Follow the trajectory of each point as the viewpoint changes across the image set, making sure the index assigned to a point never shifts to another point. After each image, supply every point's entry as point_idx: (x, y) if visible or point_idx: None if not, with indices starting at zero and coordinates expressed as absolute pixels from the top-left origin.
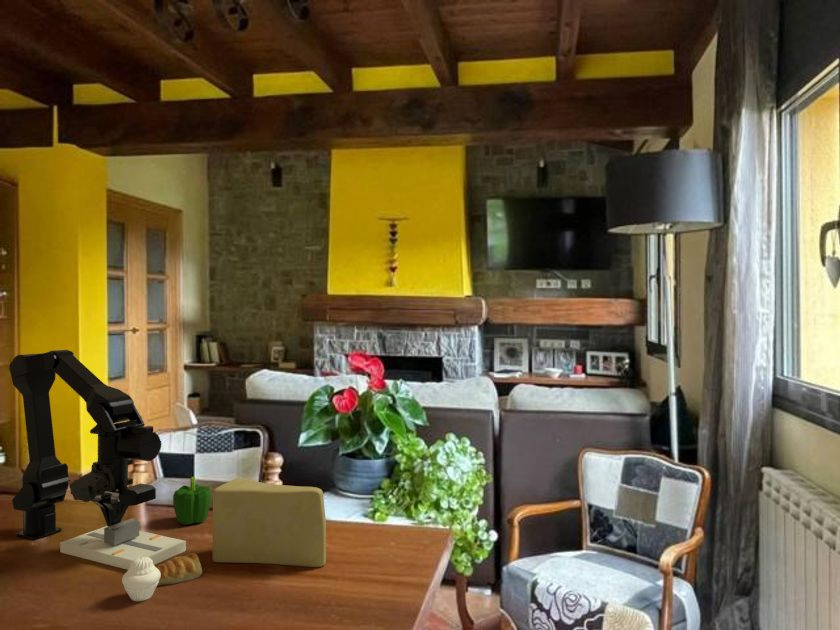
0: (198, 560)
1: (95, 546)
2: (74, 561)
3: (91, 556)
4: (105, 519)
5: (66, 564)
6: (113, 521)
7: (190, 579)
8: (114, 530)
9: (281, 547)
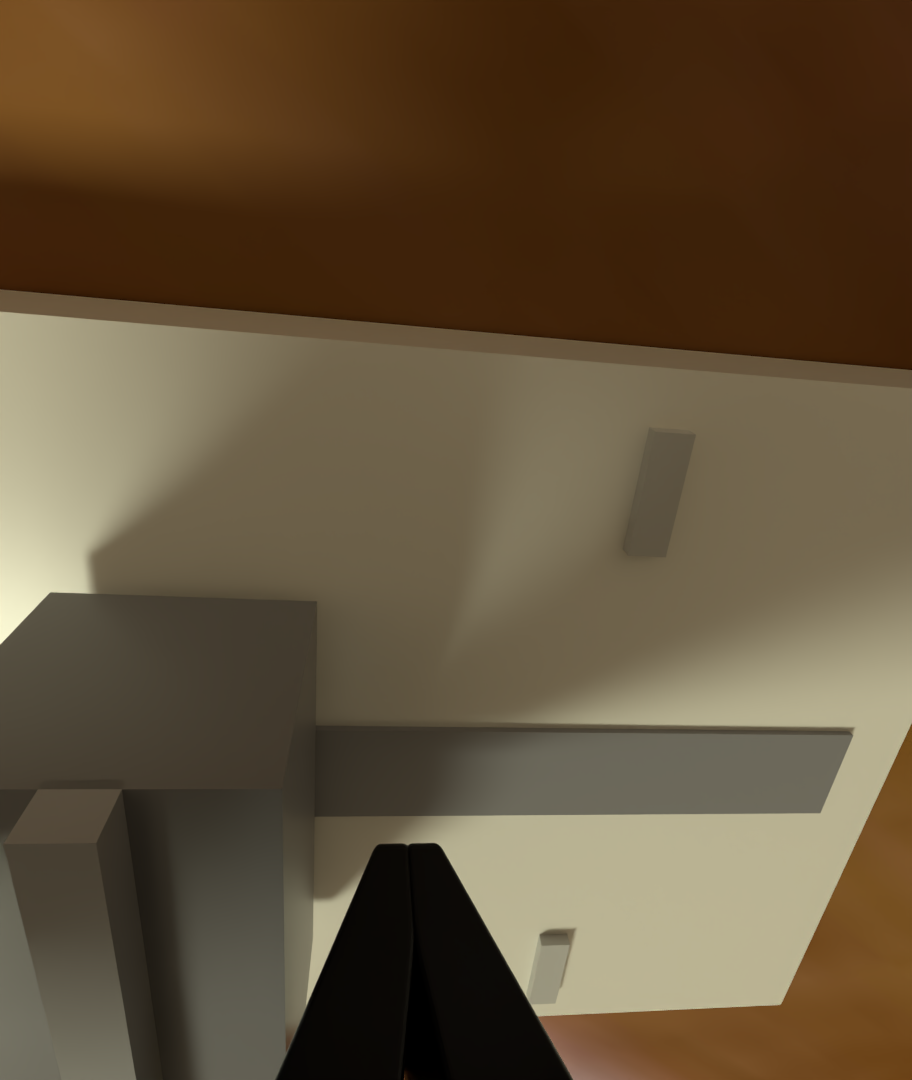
0: None
1: (392, 491)
2: (523, 190)
3: (311, 321)
4: (532, 1046)
5: (545, 35)
6: (289, 1053)
7: None
8: None
9: None
